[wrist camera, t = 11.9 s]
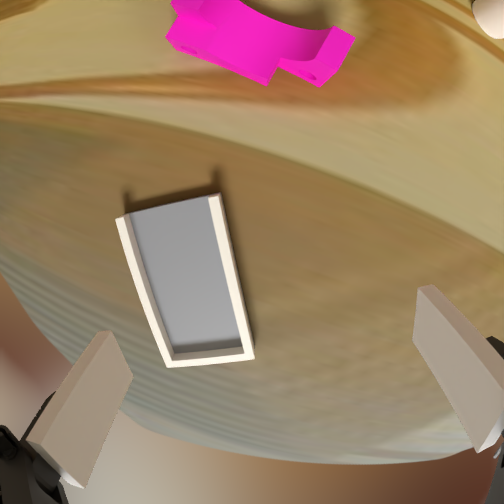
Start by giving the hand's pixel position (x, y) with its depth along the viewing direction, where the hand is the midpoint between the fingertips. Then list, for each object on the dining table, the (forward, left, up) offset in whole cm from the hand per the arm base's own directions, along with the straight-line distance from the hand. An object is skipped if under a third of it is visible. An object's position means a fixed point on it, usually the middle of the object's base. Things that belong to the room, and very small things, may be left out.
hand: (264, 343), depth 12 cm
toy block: (-18, +3, -21) cm, 28 cm away
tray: (+6, -9, -21) cm, 23 cm away
